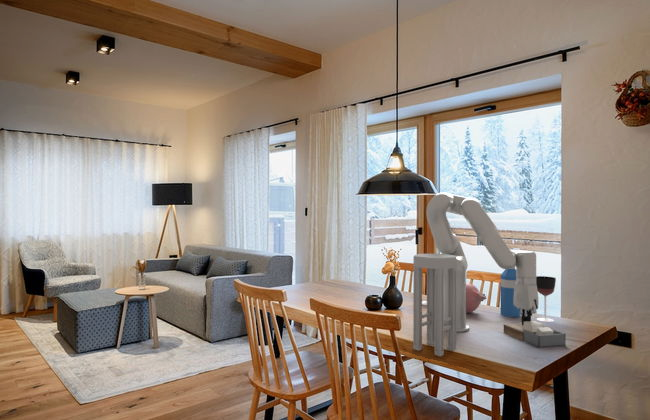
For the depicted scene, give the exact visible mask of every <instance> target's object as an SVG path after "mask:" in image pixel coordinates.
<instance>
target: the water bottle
mask: <svg viewBox="0 0 650 420" xmlns="http://www.w3.org/2000/svg"><path fill="white" fill-rule="evenodd" d="M515 283H516V266H514V267H513V268H511V269H503V272H502V273H501V274H500V315H502V316H503V317H508V318H509V317H511V318H520V317H521V316H522V315H521V313H520V310H519V309H518V308H517V307H516V306H514V304H513V297H514V287H515Z"/></svg>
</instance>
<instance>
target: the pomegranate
mask: <svg viewBox="0 0 650 420" xmlns="http://www.w3.org/2000/svg"><path fill="white" fill-rule="evenodd" d="M484 300H487V296H486V294H485V293H484V292H483V293H481V292H480V290H479V289H478V287H476V285H474V284H472V283H470V282H467V281H466V314H469V313H474V312H475V311H476V310H477V309H478V308H479V306H480V304H481V302H484Z"/></svg>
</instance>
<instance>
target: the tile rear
mask: <svg viewBox="0 0 650 420" xmlns="http://www.w3.org/2000/svg"><path fill="white" fill-rule="evenodd" d="M540 327H544V324H543V323H541V322H540V321H539V322H538V321H535V320H531V321H525V322H524V329H525V330H527V331H530V332H536V331H537V328H540Z"/></svg>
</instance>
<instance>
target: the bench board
mask: <svg viewBox="0 0 650 420" xmlns="http://www.w3.org/2000/svg"><path fill="white" fill-rule="evenodd" d="M524 330H525V329H524V325H522V322H519V323H518V322H517V323H504V324H503V333H504V334H506V335H509V336H511V337H513V338H515V339H518V340H520V341H522V342H524V341H523V334H524ZM526 331H527V330H526ZM529 332H530V331H529ZM531 333H536V332H531Z"/></svg>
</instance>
